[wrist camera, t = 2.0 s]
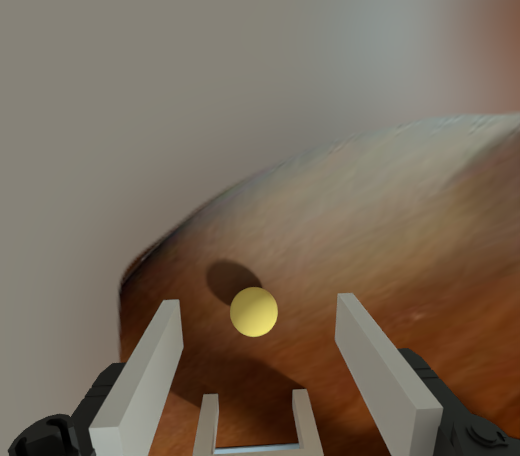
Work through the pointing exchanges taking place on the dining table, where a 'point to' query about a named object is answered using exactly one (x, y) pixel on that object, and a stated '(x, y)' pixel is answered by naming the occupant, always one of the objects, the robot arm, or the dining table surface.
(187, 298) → the dining table surface
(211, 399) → the bridge
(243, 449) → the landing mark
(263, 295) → the ball
